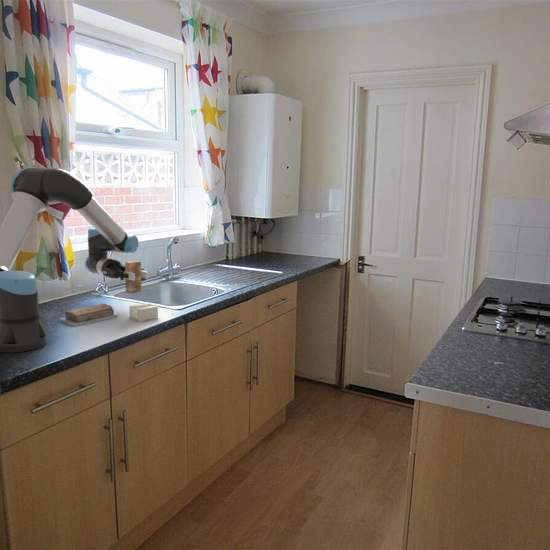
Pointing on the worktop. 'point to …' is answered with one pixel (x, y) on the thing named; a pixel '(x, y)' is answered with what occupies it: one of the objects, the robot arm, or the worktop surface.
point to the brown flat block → (88, 315)
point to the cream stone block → (143, 312)
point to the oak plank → (135, 285)
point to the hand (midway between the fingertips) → (140, 276)
